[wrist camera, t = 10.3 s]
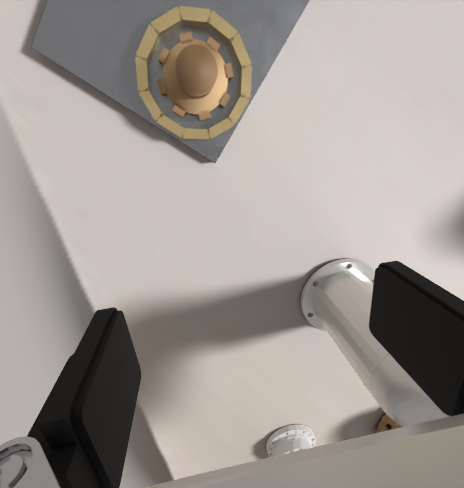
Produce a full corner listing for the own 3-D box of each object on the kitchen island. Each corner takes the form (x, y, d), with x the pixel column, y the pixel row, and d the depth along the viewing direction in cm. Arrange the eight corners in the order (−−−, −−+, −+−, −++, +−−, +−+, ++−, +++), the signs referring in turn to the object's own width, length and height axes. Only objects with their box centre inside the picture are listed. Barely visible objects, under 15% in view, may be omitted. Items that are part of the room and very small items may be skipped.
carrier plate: (325, -31, 28) (343, -53, 25) (214, 162, 33) (216, 165, 30) (138, -225, 22) (130, -288, 18) (39, 51, 27) (18, 40, 24)
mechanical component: (256, 451, 55) (296, 459, 58) (262, 476, 51) (304, 483, 54) (281, 418, 53) (322, 428, 56) (289, 441, 49) (332, 451, 52)
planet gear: (244, 69, 29) (256, 55, 24) (208, 134, 31) (212, 134, 25) (180, 18, 26) (178, -9, 21) (145, 92, 28) (135, 83, 23)
